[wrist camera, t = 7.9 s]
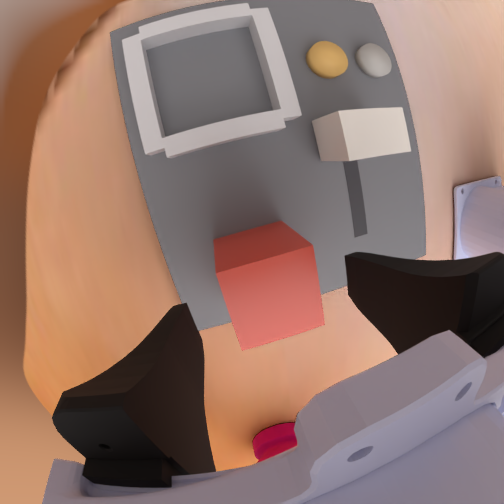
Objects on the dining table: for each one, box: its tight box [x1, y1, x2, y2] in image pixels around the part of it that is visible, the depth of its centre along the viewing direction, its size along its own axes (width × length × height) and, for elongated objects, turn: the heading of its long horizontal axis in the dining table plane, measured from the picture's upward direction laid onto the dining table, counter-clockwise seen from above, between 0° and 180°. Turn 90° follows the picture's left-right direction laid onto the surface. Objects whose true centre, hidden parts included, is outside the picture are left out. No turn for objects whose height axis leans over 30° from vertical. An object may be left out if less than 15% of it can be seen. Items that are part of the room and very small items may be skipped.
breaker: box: [312, 107, 411, 161], centre depth 13 cm, size 4×2×3 cm, turn 104°
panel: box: [110, 0, 426, 331], centre depth 14 cm, size 18×20×3 cm
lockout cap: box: [213, 221, 325, 351], centre depth 14 cm, size 4×4×5 cm
